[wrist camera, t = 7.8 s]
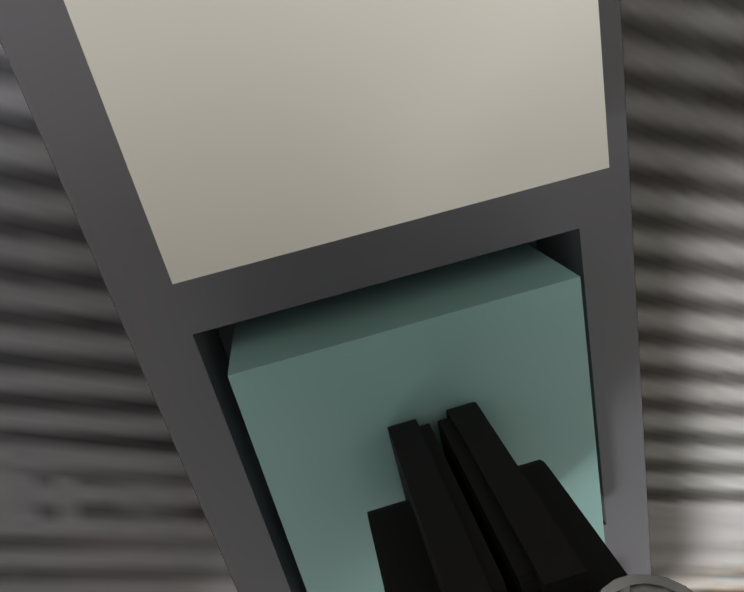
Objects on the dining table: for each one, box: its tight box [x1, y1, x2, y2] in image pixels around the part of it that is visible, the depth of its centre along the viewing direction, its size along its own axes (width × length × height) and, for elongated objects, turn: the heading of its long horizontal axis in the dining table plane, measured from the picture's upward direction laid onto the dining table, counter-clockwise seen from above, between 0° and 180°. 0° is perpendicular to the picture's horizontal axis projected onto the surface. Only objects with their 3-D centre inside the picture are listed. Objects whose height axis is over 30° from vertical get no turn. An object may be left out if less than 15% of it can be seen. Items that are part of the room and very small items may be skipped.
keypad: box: [0, 0, 651, 592], centre depth 13 cm, size 25×9×4 cm, turn 13°
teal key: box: [227, 243, 605, 592], centre depth 12 cm, size 6×6×2 cm
